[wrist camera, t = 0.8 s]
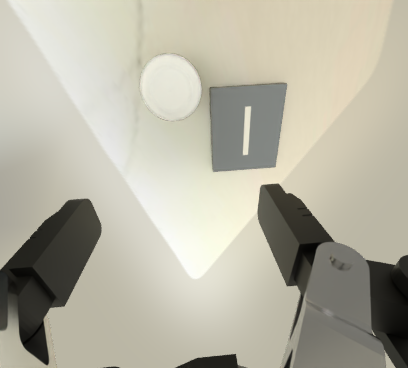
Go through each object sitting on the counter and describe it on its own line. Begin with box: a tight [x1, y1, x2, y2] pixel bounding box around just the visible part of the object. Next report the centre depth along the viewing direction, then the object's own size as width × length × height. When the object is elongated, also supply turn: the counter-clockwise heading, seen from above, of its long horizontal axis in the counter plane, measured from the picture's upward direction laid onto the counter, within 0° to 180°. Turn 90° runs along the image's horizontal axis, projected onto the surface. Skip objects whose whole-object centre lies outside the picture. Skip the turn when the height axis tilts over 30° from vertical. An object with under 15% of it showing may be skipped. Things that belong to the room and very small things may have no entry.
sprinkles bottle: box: [140, 53, 202, 121], centre depth 20 cm, size 5×5×14 cm
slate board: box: [210, 83, 287, 172], centre depth 29 cm, size 12×10×1 cm
